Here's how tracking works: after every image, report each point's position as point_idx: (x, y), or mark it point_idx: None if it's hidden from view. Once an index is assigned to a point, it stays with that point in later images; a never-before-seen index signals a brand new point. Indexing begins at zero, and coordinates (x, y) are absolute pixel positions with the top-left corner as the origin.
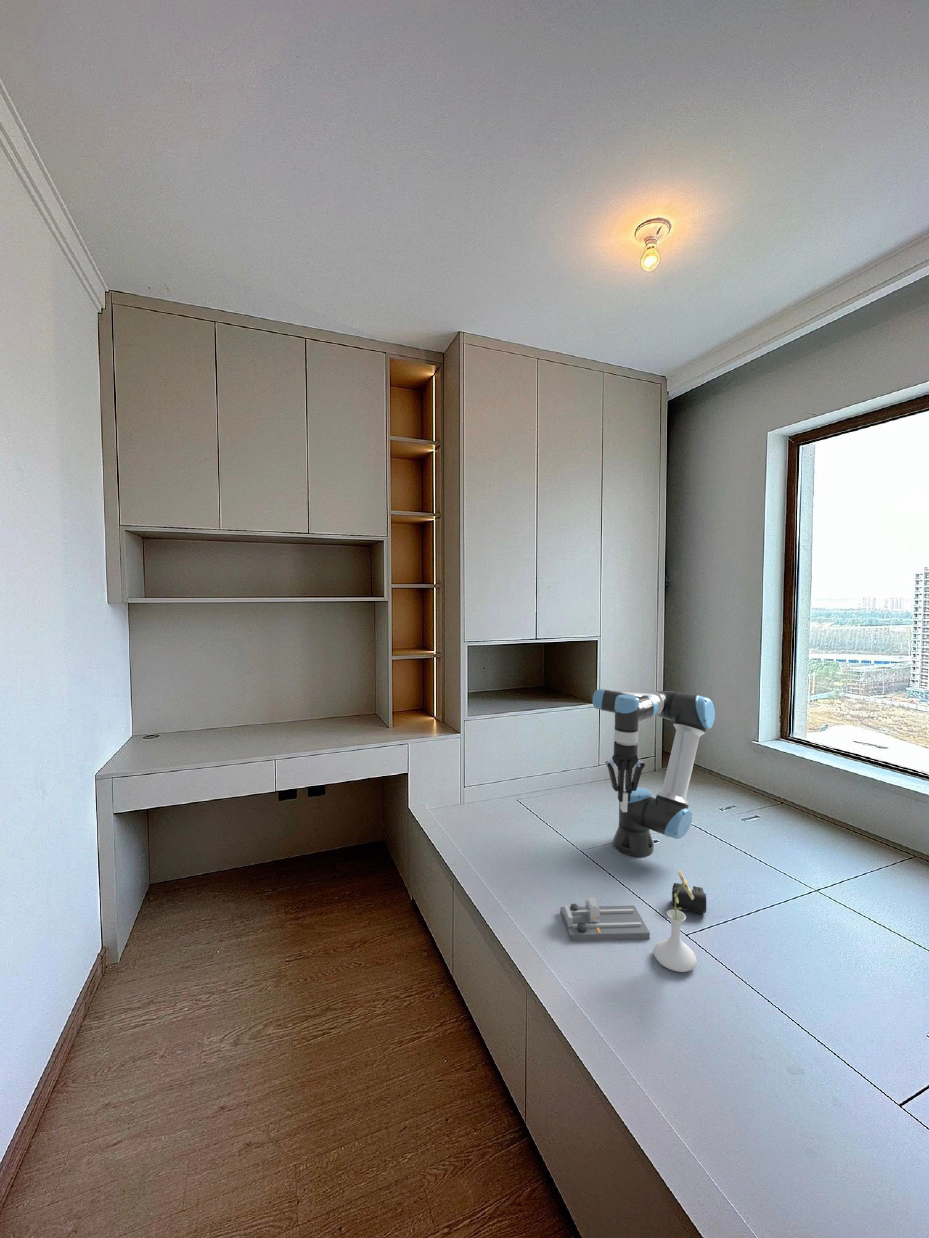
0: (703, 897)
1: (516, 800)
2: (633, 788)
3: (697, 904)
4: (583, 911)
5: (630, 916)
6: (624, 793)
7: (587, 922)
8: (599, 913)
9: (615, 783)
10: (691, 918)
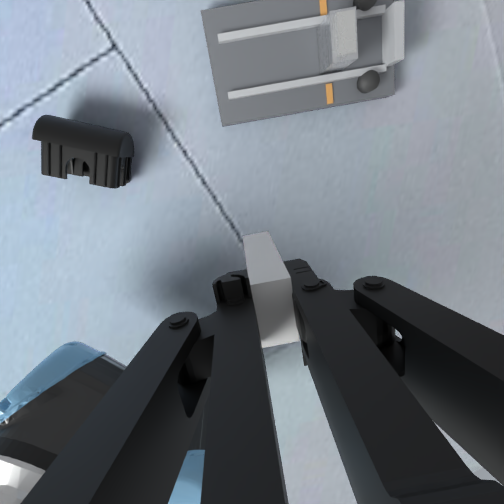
0: (41, 125)
1: None
2: (191, 323)
3: (65, 119)
4: (348, 71)
5: (237, 76)
6: (280, 279)
7: None
8: (326, 16)
9: (427, 319)
10: (95, 115)
